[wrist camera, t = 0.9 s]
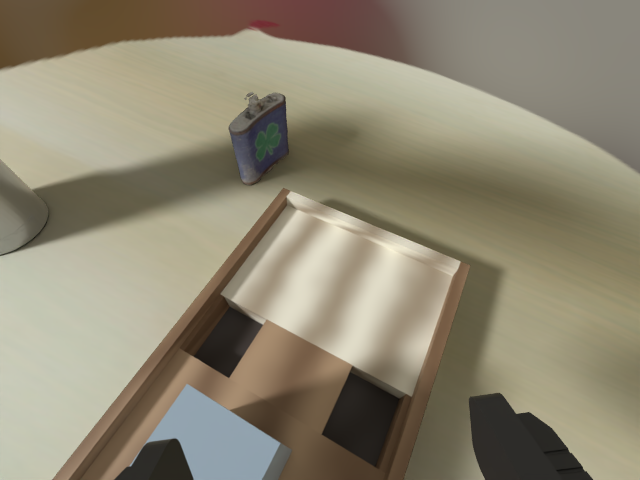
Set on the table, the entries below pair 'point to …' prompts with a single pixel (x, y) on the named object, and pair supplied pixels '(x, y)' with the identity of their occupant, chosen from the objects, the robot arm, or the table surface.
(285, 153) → the flask
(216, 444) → the block
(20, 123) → the table surface
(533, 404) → the table surface
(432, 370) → the board
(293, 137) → the table surface
